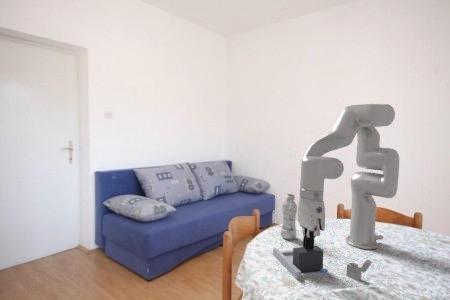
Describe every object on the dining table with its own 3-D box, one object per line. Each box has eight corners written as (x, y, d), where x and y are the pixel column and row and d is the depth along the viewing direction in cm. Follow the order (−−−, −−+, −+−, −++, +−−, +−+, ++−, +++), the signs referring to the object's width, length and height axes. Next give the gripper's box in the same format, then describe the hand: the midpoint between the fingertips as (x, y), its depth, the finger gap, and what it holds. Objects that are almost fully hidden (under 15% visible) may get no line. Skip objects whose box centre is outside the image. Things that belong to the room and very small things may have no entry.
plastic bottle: (296, 242, 115) (298, 197, 114) (280, 241, 116) (282, 196, 115) (295, 237, 121) (297, 194, 120) (280, 235, 123) (282, 193, 122)
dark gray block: (316, 264, 94) (316, 245, 93) (322, 270, 90) (323, 250, 89) (292, 267, 92) (293, 248, 91) (298, 273, 88) (299, 253, 87)
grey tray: (301, 253, 104) (301, 246, 104) (329, 277, 87) (330, 268, 87) (272, 256, 102) (273, 248, 101) (296, 281, 84) (296, 272, 84)
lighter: (345, 277, 88) (347, 253, 87) (348, 275, 89) (349, 252, 88) (368, 287, 82) (370, 262, 82) (370, 285, 83) (372, 260, 83)
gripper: (335, 199, 83) (331, 257, 84) (309, 189, 97) (306, 239, 98) (314, 200, 81) (310, 258, 82) (290, 190, 96) (287, 240, 96)
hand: (308, 247), depth 90 cm, fingers closed
